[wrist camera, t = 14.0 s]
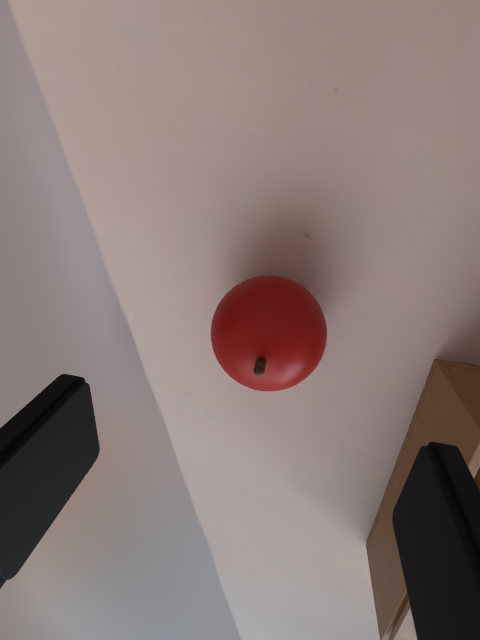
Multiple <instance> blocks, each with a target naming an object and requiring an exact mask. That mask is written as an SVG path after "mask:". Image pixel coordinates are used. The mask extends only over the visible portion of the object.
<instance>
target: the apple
mask: <svg viewBox="0 0 480 640" xmlns="http://www.w3.org/2000/svg"><path fill="white" fill-rule="evenodd" d="M326 340H327V327H326V321H325V318H324V315H323V312H322V309H321V307H320V305H319V304H318V302H317V301H316V299H315V298H314V297H313V296H312V295H311V293H310V292H309V291H307V290H306V289H305V288H304V287H303V286H301V285H299V284H298V283H296V282H294V281H292V280H289V279H286V278H283V277H278V276H259V277H254V278H251V279H248V280H246V281H244V282H242V283H240V284H238V285H236V286H235V287H233V288H232V289H231V290H230V291H229V292H228V293H227V294H226V295H225V296H224V298H223V299H222V300H221V301H220V303H219V305H218V307H217V309H216V311H215V313H214V316H213V320H212V326H211V341H212V347H213V350H214V354H215V356H216V358H217V360H218V362H219V364H220V365H221V367H222V368H223V369H224V371H225V372H226V373H227V374H228V375H229V376H230V377H231V378H233V379H234V380H235V381H237V382H238V383H240V384H242V385H244V386H246V387H248V388H251V389H254V390H259V391H279V390H283V389H287V388H290V387H292V386H294V385H296V384H298V383H300V382H301V381H303V380H304V379H305V378H307V377H308V376H309V375H310V374H311V373H312V372H313V370H314V369H315V368H316V367H317V365H318V363H319V362H320V360H321V358H322V356H323V353H324V350H325V346H326Z"/></svg>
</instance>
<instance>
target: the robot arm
mask: <svg viewBox="0 0 480 640" xmlns="http://www.w3.org/2000/svg"><path fill="white" fill-rule="evenodd" d="M99 450H100V449H99V441H98V435H97V429H96V422H95V416H94V410H93V404H92V398H91V392H90V387H89V384H88V383H86V382H85V379H84V378H82V377H78V376H73V375H67V374H62V375H60V376H59V377H57V378H56V380H54V381H53V382H52V383H51V384H50V385H48V386H47V387H46V388H45V389H44V390H43V391H42V392H41V393H40V394H38V395H37V396H36V397H35V398H34V399H33V400H32V401H31V402H29V403H28V404H27V405H26V406H25V407H24V408H23V409H22V410H20V411H19V412H18V413H17V414H16V415H15V416H14V417H13V418H11V419H10V420H9V421H8V422H7V423H6V424H5V425H4V426H3V427H1V428H0V588H1V587H2V586H3V584H4V583H5V582H6V580H8V579H11V578H13V577H14V576H15V575H16V574H17V573H18V571H19V570H20V569H21V567H22V566H23V564H24V563H25V561H26V560H27V558H28V557H29V556H30V554H31V553H32V551H33V550H34V548H35V547H36V545H37V544H38V543H39V541H40V540H41V538H42V537H43V536H44V534H45V533H46V531H47V530H48V528H49V527H50V526H51V524H52V522H53V521H54V520H55V518H56V517H57V515H58V514H59V512H60V511H61V510H62V508H63V507H64V505H65V504H66V503H67V501H68V500H69V498H70V497H71V495H72V494H73V493H74V491H75V490H76V488H77V487H78V485H79V484H80V483H81V481H82V480H83V478H84V477H85V475H86V474H87V473H88V471H89V470H90V468H91V467H92V465H93V464H94V462H95V461H96V459H97V457H98V454H99ZM392 523H393V529H394V533H395V538H396V543H397V547H398V552H399V556H400V561H401V566H402V570H403V575H404V580H405V584H406V589H407V594H408V598H409V603H410V608H411V612H412V617H413V622H414V626H415V631H416V636H417V640H480V490H479V488H478V486H477V484H476V482H475V480H474V478H473V476H472V474H471V472H470V470H469V468H468V466H467V464H466V462H465V460H464V458H463V456H462V454H461V452H460V450H459V449H458V447H456V446H455V445H449V444H444V443H438V442H432V441H431V442H429V443H428V445H427V446H421V447H420V449H419V452H418V454H417V456H416V459H415V461H414V463H413V465H412V468H411V470H410V472H409V475H408V477H407V479H406V482H405V484H404V486H403V489H402V491H401V493H400V496H399V498H398V500H397V503H396V505H395V507H394V510H393V515H392Z"/></svg>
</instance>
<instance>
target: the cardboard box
mask: <svg viewBox="0 0 480 640" xmlns="http://www.w3.org/2000/svg"><path fill="white" fill-rule="evenodd" d="M431 441H432V442H438V443H444V444H449V445H455V446H456V447H458V449H459V450H460V452H461V454H462V456H463V458H464V460H465V462H466V464H467V466H468V468H469V470H470V472H471V474H472V476H473V478H474V480H475V482H476V484H477V486H478V488H479V490H480V366H474V365H467V364H461V363H454V362H447V361H441V360H434V363H433V366H432V368H431V371H430V374H429V376H428V379H427V382H426V384H425V387H424V390H423V392H422V395H421V398H420V401H419V403H418V406H417V409H416V411H415V414H414V417H413V419H412V422H411V425H410V427H409V430H408V433H407V436H406V438H405V441H404V444H403V446H402V449H401V452H400V454H399V457H398V460H397V462H396V465H395V468H394V470H393V473H392V476H391V479H390V481H389V484H388V487H387V489H386V492H385V495H384V497H383V500H382V503H381V505H380V508H379V511H378V514H377V516H376V519H375V522H374V524H373V527H372V530H371V532H370V535H369V538H368V540H367V543H366V549H367V555H368V562H369V569H370V575H371V582H372V588H373V595H374V602H375V608H376V615H377V621H378V628H379V635H380V640H417V636H416V631H415V626H414V622H413V617H412V612H411V608H410V603H409V598H408V594H407V589H406V584H405V580H404V575H403V570H402V566H401V561H400V556H399V552H398V547H397V543H396V538H395V533H394V529H393V523H392V515H393V510H394V507H395V505H396V503H397V500H398V498H399V496H400V493H401V491H402V489H403V486H404V484H405V482H406V479H407V477H408V475H409V472H410V470H411V468H412V465H413V463H414V461H415V459H416V456H417V454H418V452H419V449H420V447H421V446H427V445H428V443H429V442H431Z"/></svg>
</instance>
